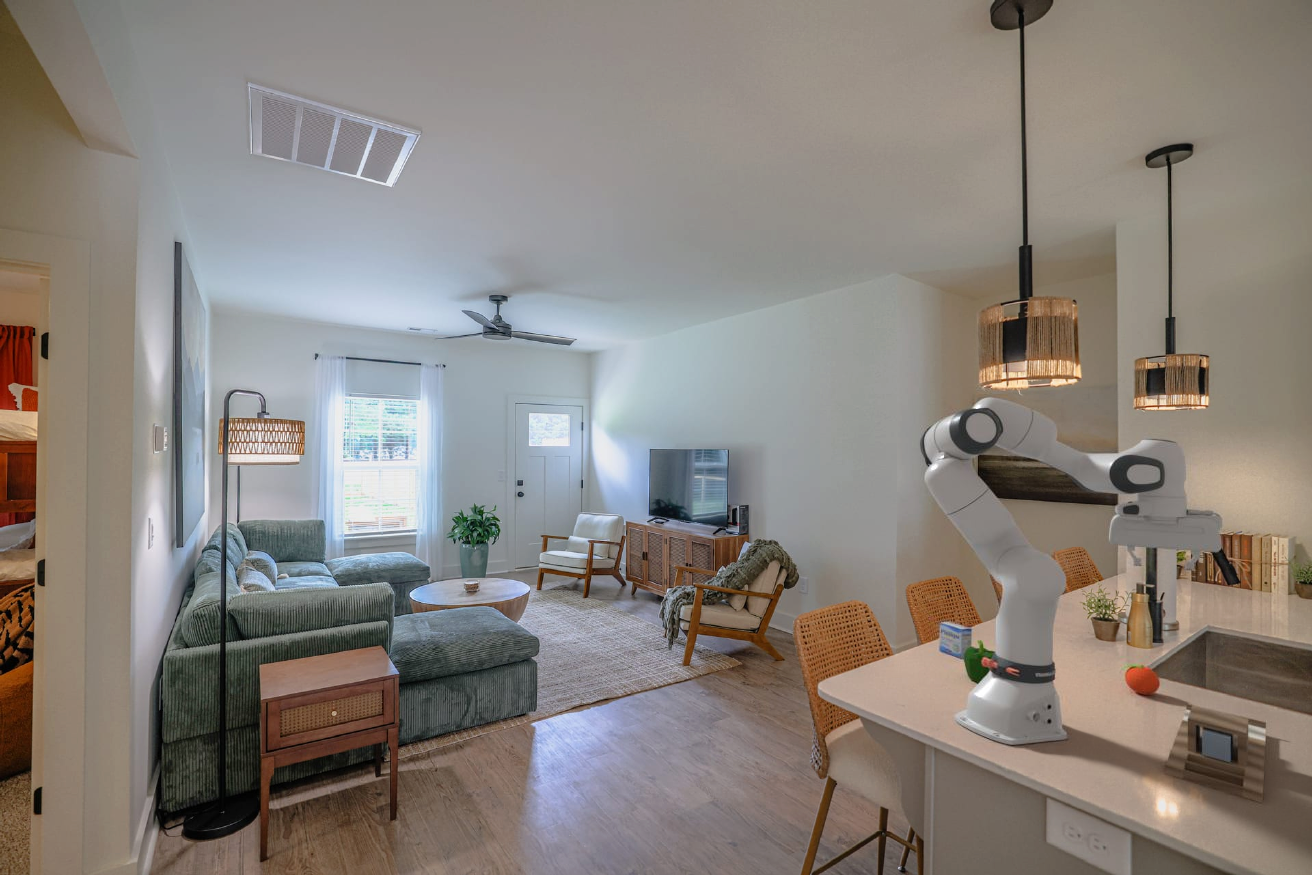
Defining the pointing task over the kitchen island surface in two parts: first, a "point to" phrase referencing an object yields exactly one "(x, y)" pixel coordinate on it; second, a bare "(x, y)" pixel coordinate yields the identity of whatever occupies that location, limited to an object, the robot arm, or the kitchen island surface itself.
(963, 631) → the medicine box
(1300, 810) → the kitchen island surface
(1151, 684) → the tomato
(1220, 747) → the sled block
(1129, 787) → the kitchen island surface
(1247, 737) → the tunnel deck
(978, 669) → the bell pepper
